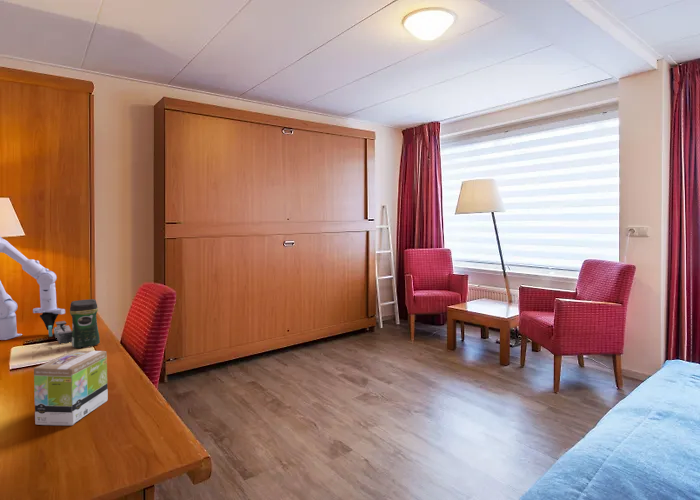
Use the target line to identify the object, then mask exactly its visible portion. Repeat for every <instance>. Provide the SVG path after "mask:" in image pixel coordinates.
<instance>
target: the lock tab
mask: <svg viewBox="0 0 700 500" xmlns="http://www.w3.org/2000/svg"><path fill="white" fill-rule="evenodd" d="M47 331H48V337H49V338H50V337H51V338H52V337H53V336H54V333H53V329H52V325H50V326H48V330H47Z"/></svg>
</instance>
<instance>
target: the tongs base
mask: <svg viewBox="0 0 700 500" xmlns="http://www.w3.org/2000/svg"><path fill="white" fill-rule="evenodd" d="M60 327H61V329H62V330H63V331H64V332H65V333H66V344H67V343H69V342H70V343H72V329H71V327H70V325H66V324H64V325H60Z"/></svg>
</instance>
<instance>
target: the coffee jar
mask: <svg viewBox="0 0 700 500" xmlns="http://www.w3.org/2000/svg"><path fill="white" fill-rule="evenodd" d="M69 307H70V308H69V313H70V316H71V319H72V322H71V323H72V324H71V325H72V326H71V328H72V329H71V331H72V342H71V346H72V348H74V349H82V348H81V347H84V348H89V346H90V347H93V346H97V345H98V344H100V341H101V339H100V332H99V327H98V322H97V321H98V319H97V314H98V311H99V307H98V303H97V301H96V299H93V298H92V299H80V300H73V301H71V302H70V306H69Z"/></svg>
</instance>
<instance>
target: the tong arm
mask: <svg viewBox="0 0 700 500" xmlns="http://www.w3.org/2000/svg"><path fill="white" fill-rule="evenodd" d="M55 324H56V326H55V327H53V336H54V337H55V339H56V338H57V339H56V340H57V342H58V343H59V345H62V344H61V343H64V344H67V342H66V333H65V332H64V331H63V330H62V329H61V327H60V325H64V324H65V325H67V322H66V321H65V320H61V321H55Z"/></svg>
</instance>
